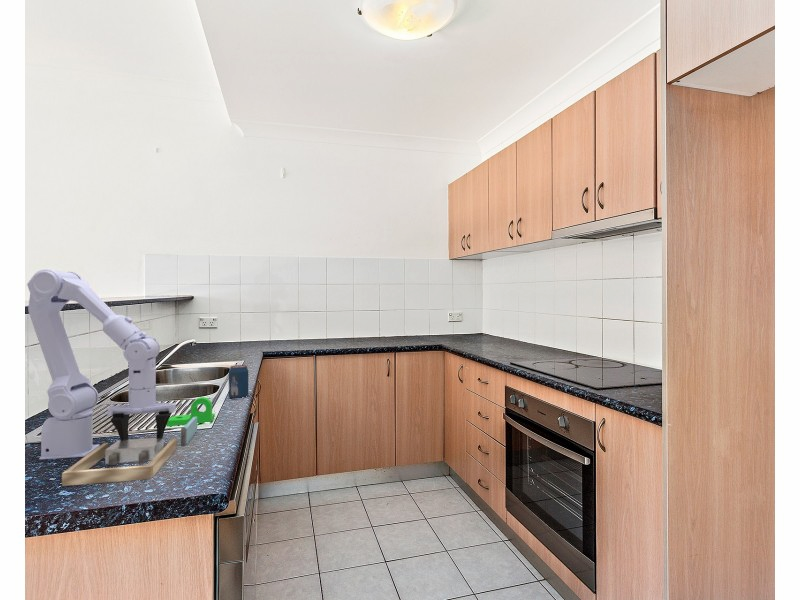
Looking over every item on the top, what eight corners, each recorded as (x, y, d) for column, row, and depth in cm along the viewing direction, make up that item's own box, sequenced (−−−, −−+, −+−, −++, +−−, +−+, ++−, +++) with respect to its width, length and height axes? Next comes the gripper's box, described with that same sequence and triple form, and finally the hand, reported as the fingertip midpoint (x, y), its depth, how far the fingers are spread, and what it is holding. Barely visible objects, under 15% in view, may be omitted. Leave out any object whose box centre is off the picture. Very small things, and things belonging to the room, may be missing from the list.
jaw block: (105, 465, 99) (105, 449, 99) (117, 455, 106) (117, 440, 106) (154, 461, 101) (154, 446, 101) (163, 451, 108) (163, 437, 108)
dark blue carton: (247, 395, 171) (247, 364, 171) (249, 399, 164) (249, 366, 165) (227, 397, 168) (227, 365, 168) (229, 401, 162) (229, 368, 162)
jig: (61, 486, 87) (62, 463, 87) (108, 450, 108) (108, 431, 108) (159, 478, 91) (159, 456, 91) (185, 445, 112) (186, 427, 112)
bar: (182, 444, 112) (182, 428, 112) (193, 431, 124) (193, 416, 124) (186, 444, 113) (186, 428, 113) (197, 430, 124) (197, 416, 124)
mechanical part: (214, 419, 137) (214, 393, 137) (210, 425, 131) (210, 398, 131) (172, 422, 134) (172, 395, 135) (166, 427, 129) (166, 399, 129)
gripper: (101, 392, 103) (101, 450, 103) (170, 389, 106) (170, 446, 106) (114, 386, 110) (114, 441, 110) (177, 383, 113) (177, 437, 113)
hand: (142, 443), depth 109 cm, fingers open, 7 cm apart
